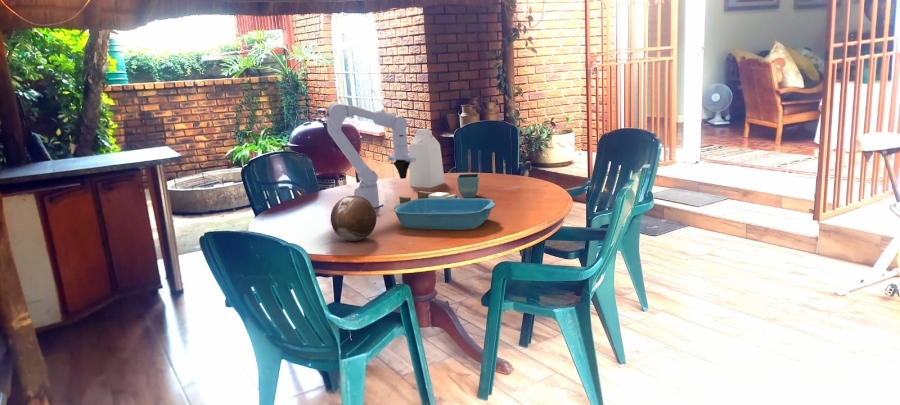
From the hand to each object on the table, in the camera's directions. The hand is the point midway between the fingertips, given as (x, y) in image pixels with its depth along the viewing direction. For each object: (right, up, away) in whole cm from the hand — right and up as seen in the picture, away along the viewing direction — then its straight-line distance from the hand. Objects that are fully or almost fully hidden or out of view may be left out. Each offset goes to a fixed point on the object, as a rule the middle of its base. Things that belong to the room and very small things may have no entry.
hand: (403, 178), depth 262 cm
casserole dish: (+18, -18, -37) cm, 44 cm away
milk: (+9, -2, +36) cm, 37 cm away
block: (+15, -11, -7) cm, 20 cm away
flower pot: (+27, -8, +3) cm, 29 cm away
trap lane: (+10, -10, -4) cm, 15 cm away
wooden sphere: (-12, -23, -51) cm, 57 cm away
